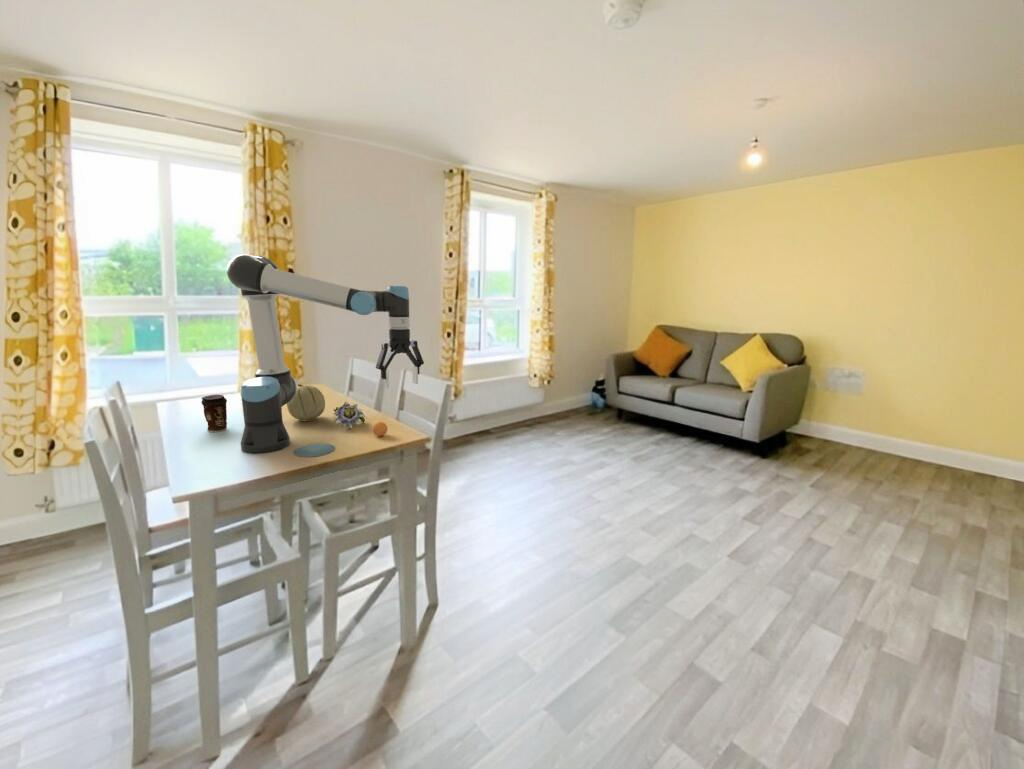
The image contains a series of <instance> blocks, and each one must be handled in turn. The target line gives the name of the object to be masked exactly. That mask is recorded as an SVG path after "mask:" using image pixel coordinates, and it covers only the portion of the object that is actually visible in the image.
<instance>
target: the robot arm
mask: <svg viewBox="0 0 1024 769" xmlns="http://www.w3.org/2000/svg"><path fill="white" fill-rule="evenodd" d="M226 275H227V277H228V279H229V281H230V283H231V284H233V285H234V286H235V287H236V288H238V289H240V292H241V296H242V298H243V299H245V300H246V301H247V303H248V309H249V317H250V323H251V329H252V334H253V341H254V347H255V352H256V357H257V358H256V359H257V365H258V368H257V370H255V372H254V376H255V377H253V378H249V379H247V380H245V381H243V383H242V384H241V386H240V396H241V404H242V413H243V420H244V421H243V422H244V429H243V433H242V436H241V440H240V448H241V449H240V450H241V451H242V452H244V453H249V454H262V453H263V454H264V453H270V452H271V453H272V452H275V451H278V450H282V449H284V448H286V447H288V446H289V445H290V443H291V440H290V439H291V438H290V435H289V433H288V431H287V428H286V427H285V425H284V424H285V423H284V421H283V410H282V408H283V407H284V406H286V405H287V403H288V402H290V401H291V400H292V398H293V397H294V395H295V393H296V388H297V382H296V381H295V379H294V378H293V377H292V374H291V368H289V367H288V366H286V364H285V363H286V362H285V357H284V352H283V351H284V350H283V345H282V339H281V330H280V325H279V324H280V323H279V318H278V312H277V305H276V304H277V303H276V299H277V297H279V295H284V296H288V297H291V298H295V299H296V298H297V299H300V300H304V301H309V302H313V303H318V304H322V305H325V306H329V307H333V308H338V309H341V310H346V311H349V312H353V313H356V314H358V315H361V316H368V315H370V314H372V313H387V314H388V328H389V329H388V336H389V342H381V349H380V352H379V355H378V359H377V361H376V365H375V368H376V369H377V370H379V371H380V377H381V379H382V380H383V383H382V384H383V388H385V389H389V388H390V386H389V385H390V381H389V379H390V378H389V377H390V376H389V370H388V367H389V365H390V364H391V362H392V361H393V359H394V358H395V356H396V355H398V354H406V356H407V357H408V359H409V360H410V361H411V363H412V364H413V365H412V366H411V367H412V368H411V369H412V374H411V375H412V383H413V384H417V385H418V384H419V375H420V368H421V366H422V365H424V364H425V362H424V359H423V357H422V354H421V351H420V349H419V346H418V344H419V343H418V341H417V340H414V339H413V340H410V338H411V330H410V324H411V323H410V295H409V294H410V292H409V288H408V287H407V286H406V285H405V286H404V285H388V286H387V289H386V290H383V291H381V290H380V291H379V290H378V291H377V290H360V289H357V288H351V287H349V286H345V285H341V284H340V285H339V284H337V283H333V282H328V281H324V280H321V279H317V278H313V277H308V276H305V275H300V274H296V273H294V272H289V271H285V270H281V269H279V268H278V266H277V264H276V263H275V262H274V261H272V260H271V259H269V258H267V257H264V256H261V255H250V254H240V255H237V256H234V257H233V258H232V259H231V260H230V261H229V262H228V264H227V267H226ZM410 346H411V349H412V351H413V353H412V351H411V349H410ZM389 348H390V349H389ZM388 349H389V351H388ZM387 353H388V354H387Z"/></svg>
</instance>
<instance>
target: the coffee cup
mask: <svg viewBox="0 0 1024 769" xmlns="http://www.w3.org/2000/svg"><path fill="white" fill-rule="evenodd" d="M227 401H228V400H227V398H225V396H224V395H223V394H210V395H205V396H202V397H201V402H200V403H201V405H202V407H203V415H204V418H205V421H206V423H207V432H209V431H213V432H212V433H215V432H214V431H218V432H223V431H222V430H224V431H225V429H226V430H227V428H228V422H227V420H228V417H227Z"/></svg>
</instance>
